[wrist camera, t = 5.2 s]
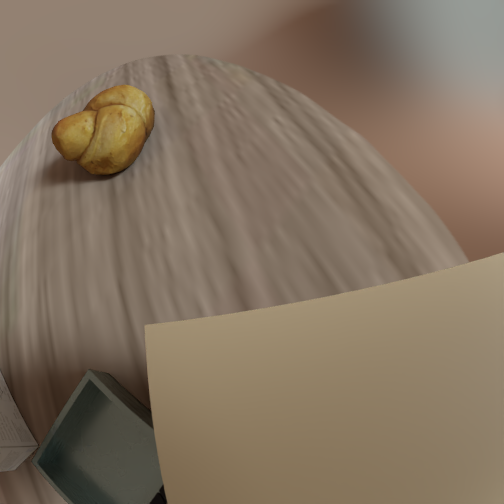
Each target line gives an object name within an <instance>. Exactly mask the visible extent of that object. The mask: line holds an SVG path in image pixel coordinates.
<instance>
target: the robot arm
mask: <svg viewBox="0 0 504 504" xmlns="http://www.w3.org/2000/svg"><path fill="white" fill-rule="evenodd" d="M159 492H160V493H159ZM159 492H157V493H156V495H155V496H154V498H153V499H152V500H151V502H150V503H149V504H168V503H167V499H166V494H165V490H164V485H162V486H161V488H160V489H159Z"/></svg>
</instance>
